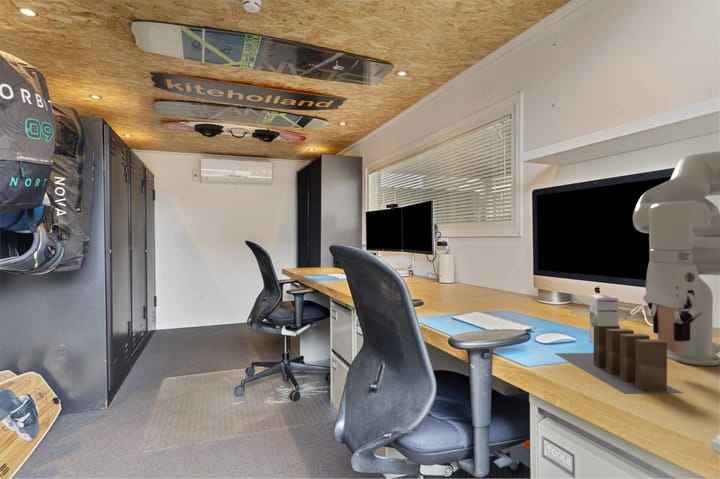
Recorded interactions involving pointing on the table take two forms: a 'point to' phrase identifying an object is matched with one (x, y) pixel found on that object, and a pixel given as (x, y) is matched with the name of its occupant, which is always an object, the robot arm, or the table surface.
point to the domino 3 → (629, 355)
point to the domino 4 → (651, 365)
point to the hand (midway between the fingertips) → (671, 335)
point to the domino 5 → (669, 329)
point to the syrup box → (602, 312)
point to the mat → (606, 374)
